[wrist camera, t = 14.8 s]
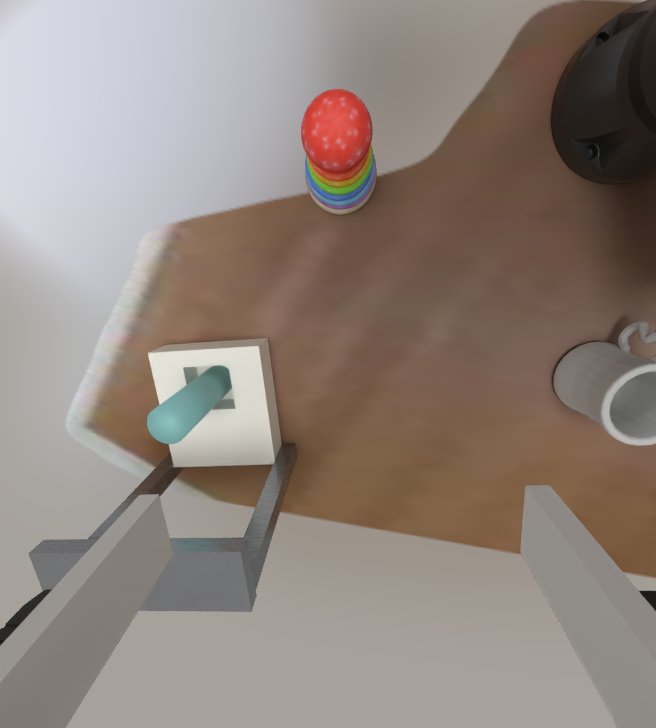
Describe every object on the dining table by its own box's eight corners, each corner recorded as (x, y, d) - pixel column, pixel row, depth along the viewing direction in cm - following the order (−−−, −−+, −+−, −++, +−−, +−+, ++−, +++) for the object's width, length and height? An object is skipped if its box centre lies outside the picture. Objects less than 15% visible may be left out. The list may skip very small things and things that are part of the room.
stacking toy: (304, 212, 43) (266, 179, 25) (309, 135, 40) (271, 37, 22) (371, 218, 42) (381, 188, 24) (380, 141, 40) (399, 45, 22)
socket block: (166, 344, 49) (147, 353, 44) (267, 337, 47) (258, 345, 43) (188, 450, 53) (174, 467, 49) (282, 446, 52) (275, 464, 47)
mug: (604, 417, 47) (668, 457, 37) (537, 397, 47) (584, 432, 37) (656, 327, 43) (741, 346, 34) (584, 305, 43) (648, 318, 34)
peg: (202, 365, 48) (142, 407, 35) (231, 364, 48) (182, 405, 34) (207, 393, 49) (151, 444, 36) (236, 392, 49) (190, 443, 35)
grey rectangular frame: (170, 426, 52) (28, 553, 30) (292, 420, 50) (240, 552, 28) (178, 462, 54) (50, 609, 31) (297, 458, 52) (251, 611, 30)
